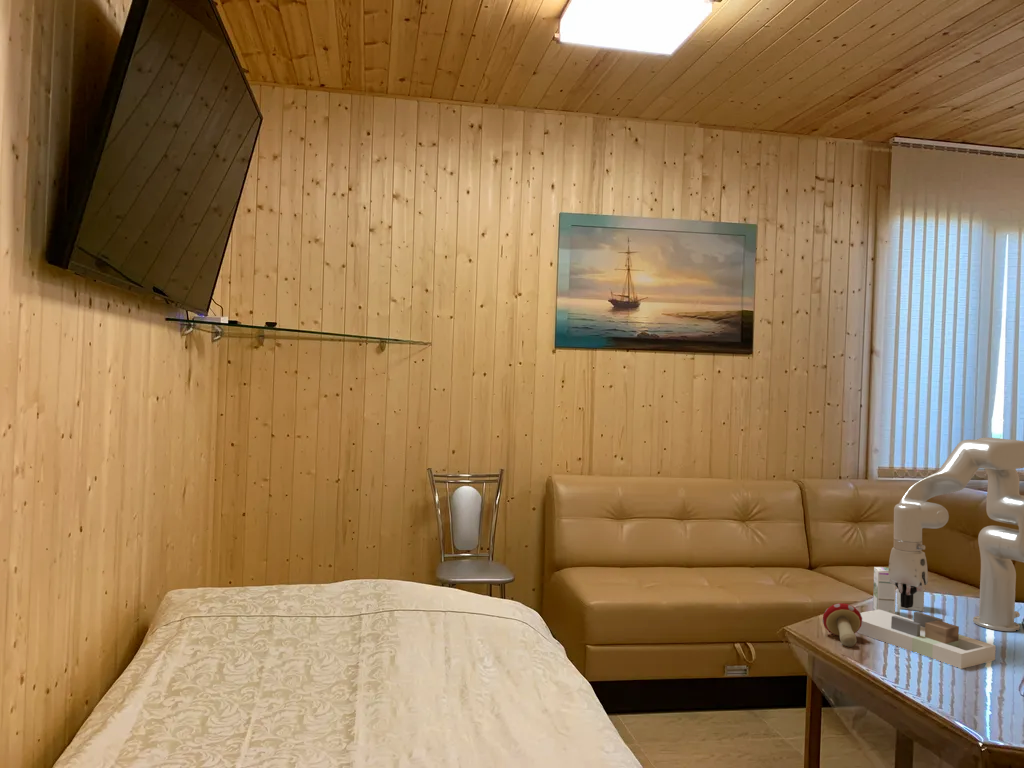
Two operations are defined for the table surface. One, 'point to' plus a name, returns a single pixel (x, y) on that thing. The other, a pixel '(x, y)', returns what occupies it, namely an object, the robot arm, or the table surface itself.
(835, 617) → the decorative mushroom
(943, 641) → the walnut block
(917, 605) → the supplement box
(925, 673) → the table surface
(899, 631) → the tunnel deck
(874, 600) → the syrup box
